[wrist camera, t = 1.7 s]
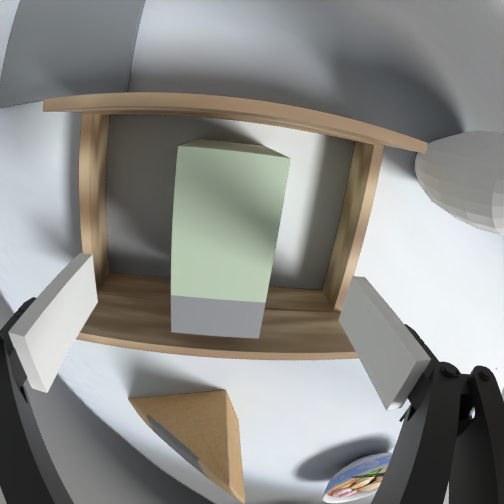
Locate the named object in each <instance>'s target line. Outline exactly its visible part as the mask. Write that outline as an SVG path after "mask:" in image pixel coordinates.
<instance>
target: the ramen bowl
mask: <svg viewBox="0 0 504 504" xmlns="http://www.w3.org/2000/svg"><path fill="white" fill-rule="evenodd" d="M392 454H393V453H380V454H373V455H366V456H363V457H360V458H358V459H356V460H354V461H352V462H351V463H350V464H349V465H347V466H346V467H344V468H342V469H341V470H340V471H339V472H338V473H336V474H335V475H334V476H333V477H332V478H331V480H330V482H329V483H328V485H327V488H326V490H325V492H324V495H323V499H322V501H324V502H326V503H341V502H347V501H352V500H356V499H359V498H362V497H365V496H369V495H371V494H373V493H376V492H377V490H378V488H379V486H380V483H381V481H382V479H383V476H384V474H385V472H386V469H387V467H388V464H389V462H390V459H391V457H392Z"/></svg>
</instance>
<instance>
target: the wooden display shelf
mask: <svg viewBox="0 0 504 504" xmlns="http://www.w3.org/2000/svg"><path fill="white" fill-rule="evenodd" d="M43 112H82V120H81V133H80V152H79V206H80V226H81V239H82V251H83V253H85V254H93V265H94V274H95V283H96V291H97V299H98V303H97V304H96V306H95V308H94V309H93V311H92V312H91V314H90V316H89V317H88V319H87V321H86V322H85V324H84V326H83V328H82V329H81V331H80V333H79V334H78V336H77V338H76V339H78V340H83V341H88V342H93V343H99V344H105V345H111V346H117V347H123V348H130V349H137V350H144V351H152V352H160V353H169V354H178V355H189V356H200V357H214V358H230V359H252V360H333V359H354V358H359V357H358V355H357V353H356V351H355V349H354V348H353V346H352V344H351V342H350V340H349V338H348V336H347V335H346V333H345V331H344V329H343V327H342V326H341V324H340V322H339V317H340V314H341V311H342V308H343V305H344V301H345V298H346V295H347V292H348V289H349V285H350V282H351V278H352V276H354V273H355V269H356V266H357V262H358V259H359V255H360V252H361V248H362V244H363V241H364V237H365V233H366V229H367V225H368V221H369V217H370V213H371V209H372V204H373V200H374V196H375V191H376V186H377V182H378V177H379V172H380V167H381V162H382V156H383V151H384V145H385V146H390V147H395V148H400V149H405V150H410V151H414V152H419V153H423V154H426V150H427V144H428V143H426V142H424V141H421V140H418V139H415V138H413V137H410V136H407V135H404V134H401V133H398V132H395V131H392V130H388V129H385V128H382V127H379V126H375V125H372V124H368V123H365V122H361V121H358V120H354V119H350V118H346V117H342V116H338V115H334V114H330V113H325V112H321V111H316V110H311V109H306V108H301V107H296V106H291V105H285V104H279V103H273V102H267V101H260V100H253V99H245V98H237V97H227V96H217V95H205V94H189V93H164V92H128V93H103V94H89V95H77V96H67V97H59V98H51V99H44V105H43ZM110 115H172V116H190V117H204V118H216V119H226V120H236V121H244V122H252V123H259V124H267V125H273V126H280V127H286V128H292V129H297V130H303V131H308V132H313V133H318V134H323V135H328V136H333V137H337V138H342V139H346V140H350V141H355V146H354V151H353V157H352V162H351V168H350V173H349V178H348V183H347V188H346V193H345V198H344V203H343V207H342V212H341V216H340V221H339V225H338V230H337V234H336V238H335V242H334V246H333V251H332V255H331V259H330V263H329V266H328V270H327V274H326V278H325V282H324V285H323V289H322V290H315V289H298V288H282V287H268V292H267V298H266V303H265V309H264V314H263V319H262V324H261V330H260V335H259V338H239V337H223V336H209V335H197V334H186V333H176V332H171V279H170V278H160V277H150V276H141V275H131V274H122V273H113V272H109V261H108V246H107V224H106V168H107V146H108V132H109V120H110Z"/></svg>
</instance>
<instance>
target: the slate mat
mask: <svg viewBox="0 0 504 504" xmlns="http://www.w3.org/2000/svg"><path fill="white" fill-rule="evenodd" d="M144 3H145V0H20V3H19V6H18V9H17V12H16V15H15V19H14V22H13V26H12V29H11V33H10V37H9V41H8V45H7V50H6V54H5V59H4V64H3V70H2V76H1V82H0V108H5V107H10V106H15V105H20V104H26V103H32V102H38V101H44V99H51V98H59V97H67V96H77V95H89V94H103V93H127V91H128V84H129V77H130V70H131V64H132V59H133V53H134V48H135V43H136V38H137V33H138V28H139V24H140V19H141V15H142V11H143V7H144Z"/></svg>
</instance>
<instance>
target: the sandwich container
mask: <svg viewBox="0 0 504 504" xmlns="http://www.w3.org/2000/svg"><path fill="white" fill-rule="evenodd" d="M129 401H130V403H131V404H132V406H133V407H134V409H135V410H136V412H137V413H138V414H139V416H140V417H141V418H142V419H143V420H144V422H145V423H146V424H147V425H148V426H149V427H150V428H151V429H152V430H153V431H154V432H155V433H156V434H157V435H158V436H159V437H160V438H161V439H163V440H164V441H165V442H166V443H167V444H168V445H169V446H170V447H171V448H173V449H174V450H175V451H176V452H177V453H178V454H179V455H181V456H182V457H183V458H184V459H185V460H186V461H187V462H189V463H190V464H191V465H192V466H194V467H195V468H196V469H197V470H199V471H200V472H201V473H202V474H204V475H205V476H206V477H207V478H208V479H210V480H211V481H212V482H214V483H215V484H217V485H218V486H219V487H221V488H222V489H223V490H225V491H226V492H227V493H229V494H230V495H232V496H233V497H234V498H236V499H237V500H239V501H240V502H242V503H245V492H244V481H243V470H242V459H241V447H240V434H239V422H238V418H237V415H236V413H235V411H234V408H233V406H232V403H231V401H230V399H229V396H228V394H227V391H226V390H217V391H208V392H198V393H187V394H177V395H168V396H157V397H144V398H129Z"/></svg>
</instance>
